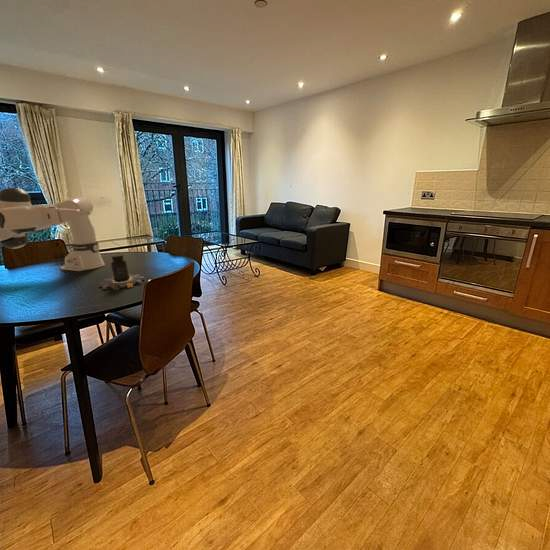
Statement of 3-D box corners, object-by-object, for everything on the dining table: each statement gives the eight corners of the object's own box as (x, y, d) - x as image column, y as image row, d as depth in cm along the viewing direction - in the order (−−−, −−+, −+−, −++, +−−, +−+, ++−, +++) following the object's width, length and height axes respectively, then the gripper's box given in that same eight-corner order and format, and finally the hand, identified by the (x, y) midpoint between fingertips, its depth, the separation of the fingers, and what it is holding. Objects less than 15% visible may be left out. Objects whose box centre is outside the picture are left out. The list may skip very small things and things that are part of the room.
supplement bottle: (132, 277, 146) (128, 253, 142) (125, 281, 139) (121, 257, 136) (118, 277, 146) (113, 254, 142) (111, 282, 139) (106, 257, 136)
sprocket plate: (91, 289, 136) (90, 285, 135) (117, 276, 154) (116, 273, 153) (129, 290, 133) (128, 287, 133) (151, 277, 151) (151, 274, 150)
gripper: (44, 221, 131) (80, 217, 141) (56, 224, 118) (95, 220, 128) (41, 206, 129) (77, 204, 139) (52, 208, 116) (92, 205, 126)
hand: (85, 212), depth 133 cm, fingers open, 8 cm apart
